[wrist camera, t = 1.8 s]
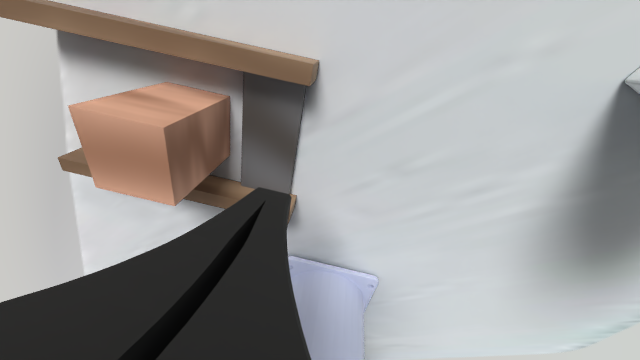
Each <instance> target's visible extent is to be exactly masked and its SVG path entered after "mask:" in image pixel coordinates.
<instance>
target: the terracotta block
mask: <svg viewBox="0 0 640 360" xmlns="http://www.w3.org/2000/svg"><path fill="white" fill-rule="evenodd" d="M68 107H69V110H70V113H71V116H72V119H73V122H74V125H75V128H76V130H77V133H78V136H79V139H80V142H81V145H82V148H83V151H84V154H85V157H86V160H87V163H88V166H89V169H90V172H91V175H92V177H93V180H94V183H95V186H96V187H97V188H101V189H105V190H109V191H113V192H118V193H122V194H126V195H130V196H134V197H139V198H143V199H147V200H151V201H155V202H159V203H164V204H168V205H172V206H176V205H177V204H178V203H179V202H180V201H181V200H182V199H183V198H184V197H185V196H187V195H188V194H189V193H190V192H191V191H192V190H193V189H194V188H195V187H196V186H197V185H198V184H199V183H201V182H202V181H203V180H204V179H205V178H206V177H207V176H208V175H209V174H210V173H211V172H212V171H214V170H215V169H216V168H217V167H218V166H219V165H220V164H221V163H222V162H223V161H224V160H225V159H226V158H228V157H229V156H230V96H226V95H222V94H217V93H213V92H208V91H204V90H200V89H195V88H191V87H186V86H182V85H177V84H173V83H169V82H164V83H160V84H156V85H152V86H148V87H144V88H140V89H135V90H131V91H127V92H123V93H119V94H115V95H111V96H106V97H102V98H98V99H94V100H90V101H86V102H82V103H77V104H73V105H69V106H68Z"/></svg>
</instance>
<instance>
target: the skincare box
mask: <svg viewBox="0 0 640 360" xmlns="http://www.w3.org/2000/svg"><path fill="white" fill-rule="evenodd" d="M625 83H626V84H627V85H629V86H630V87H631V88H632V89H634V90H635V91H636V92H637V93H639V94H640V67H639V68H638V69H637V70H636V71H635V72H633V73H632V74H631V75H630V76H629V77H628V78H627V79H626V80H625Z"/></svg>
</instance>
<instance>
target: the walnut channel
mask: <svg viewBox="0 0 640 360" xmlns="http://www.w3.org/2000/svg"><path fill="white" fill-rule="evenodd" d="M0 17H3V18H7V19H12V20H16V21H21V22H25V23H30V24H34V25H39V26H43V27H47V28H52V29H56V30H61V31H65V32H70V33H74V34H79V35H83V36H88V37H92V38H97V39H101V40H106V41H110V42H114V43H119V44H123V45H128V46H132V47H137V48H141V49H146V50H150V51H155V52H159V53H164V54H168V55H173V56H177V57H181V58H186V59H190V60H195V61H199V62H204V63H208V64H213V65H217V66H222V67H226V68H231V69H235V70H240V71H244V79H243V121H242V163H241V182H237V181H233V180H229V179H224V178H220V177H216V176H211V175H208V176H207V177H206V178H205V179H204V180H203V181H202V182H201V183H199V184H198V185H197V186H196V187H195V188H194V189H193V190H192V191H191V192H190V193H189V194H188V195H187V196H185V197H184V198H183V199H186V200H190V201H195V202H199V203H203V204H207V205H212V206H216V207H220V208H224V209H227V208H229V207H230V206H232V205H233V204H235V203H236V202H238V201H239V200H240V199H242V198H243V197H245V196H246V195H248V194H249V193H250V192H252V191H253V190H255V189H256V188H258V187H261V188H265V189H269V190H274V191H278V192H282V193H287V194H290V190H291V184H292V177H293V170H294V164H295V157H296V150H297V143H298V137H299V130H300V123H301V117H302V110H303V103H304V97H305V90H306V85H307V86H311V85H312V84H313V83H314V82H315V80H316V77H317V71H318V65H319V60H315V59H310V58H305V57H301V56H296V55H292V54H287V53H283V52H278V51H274V50H269V49H265V48H260V47H256V46H251V45H247V44H242V43H238V42H233V41H229V40H224V39H220V38H215V37H211V36H206V35H202V34H197V33H193V32H188V31H184V30H179V29H175V28H170V27H166V26H161V25H157V24H152V23H147V22H143V21H138V20H134V19H129V18H125V17H120V16H116V15H111V14H107V13H102V12H98V11H93V10H89V9H84V8H80V7H75V6H71V5H66V4H62V3H57V2H53V1H48V0H0ZM58 160H59V162H60V165H61V167H62V169H63V170H64V171H68V172H72V173H76V174H80V175H85V176H89V177H92V175H91V172H90V169H89V166H88V163H87V160H86V157H85V154H84V151H83V148H80V149H77V150H75V151H72V152H70V153H68V154H65V155H63V156H61V157H58ZM290 196H291V197H292V199H291V205H290V212H289V218H288V223H289V221H290V218H291V215H292V213H293V210H294V207H295V202H296V197H297V195H293V194H290Z"/></svg>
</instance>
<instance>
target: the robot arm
mask: <svg viewBox="0 0 640 360" xmlns="http://www.w3.org/2000/svg"><path fill="white" fill-rule="evenodd" d="M291 199H292V197H291V196H290V194H287V193H282V192H278V191H274V190H269V189H265V188H261V187H258V188H256V189H255V190H253V191H252V192H250V193H249V194H248V195H246V196H245V197H243V198H242V199H240V200H239V201H238V202H236V203H235V204H233V205H232V206H230V207H229V208H227V209H226V210H224V211H223V212H221V213H219V214H218V215H216V216H215V217H213V218H212V219H210V220H208V221H206V222H205V223H203V224H201V225H200V226H198V227H196V228H194V229H193V230H191V231H189V232H187V233H185V234H183V235H182V236H180V237H178V238H176V239H174V240H172V241H170V242H168V243H165V244H163V245H161V246H159V247H157V248H155V249H152V250H150V251H148V252H145V253H143V254H140V255H138V256H136V257H133V258H131V259H128V260H126V261H124V262H121V263H119V264H116V265H114V266H111V267H108V268H106V269H103V270H100V271H97V272H95V273H92V274H89V275H86V276H83V277H80V278H78V279H75V280H72V281H69V282H66V283H63V284H60V285H57V286H54V287H50V288H48V289H44V290H41V291H37V292H34V293H31V294H27V295H24V296H21V297H17V298H14V299H11V300H7V301H4V302H1V303H0V360H365V357H364V312H365V310H366V308H367V306H368V304H369V302H370V300H371V297H372V295H373V293H374V291H375V289H376V287H377V285H378V278H377V277H376V276H374V275H370V274H366V273H361V272H357V271H353V270H349V269H345V268H340V267H336V266H332V265H328V264H324V263H320V262H315V261H311V260H307V259H303V258H299V257H294V256H288V251H287V225H288V218H289V212H290V205H291ZM290 265H291V266H290Z"/></svg>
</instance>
